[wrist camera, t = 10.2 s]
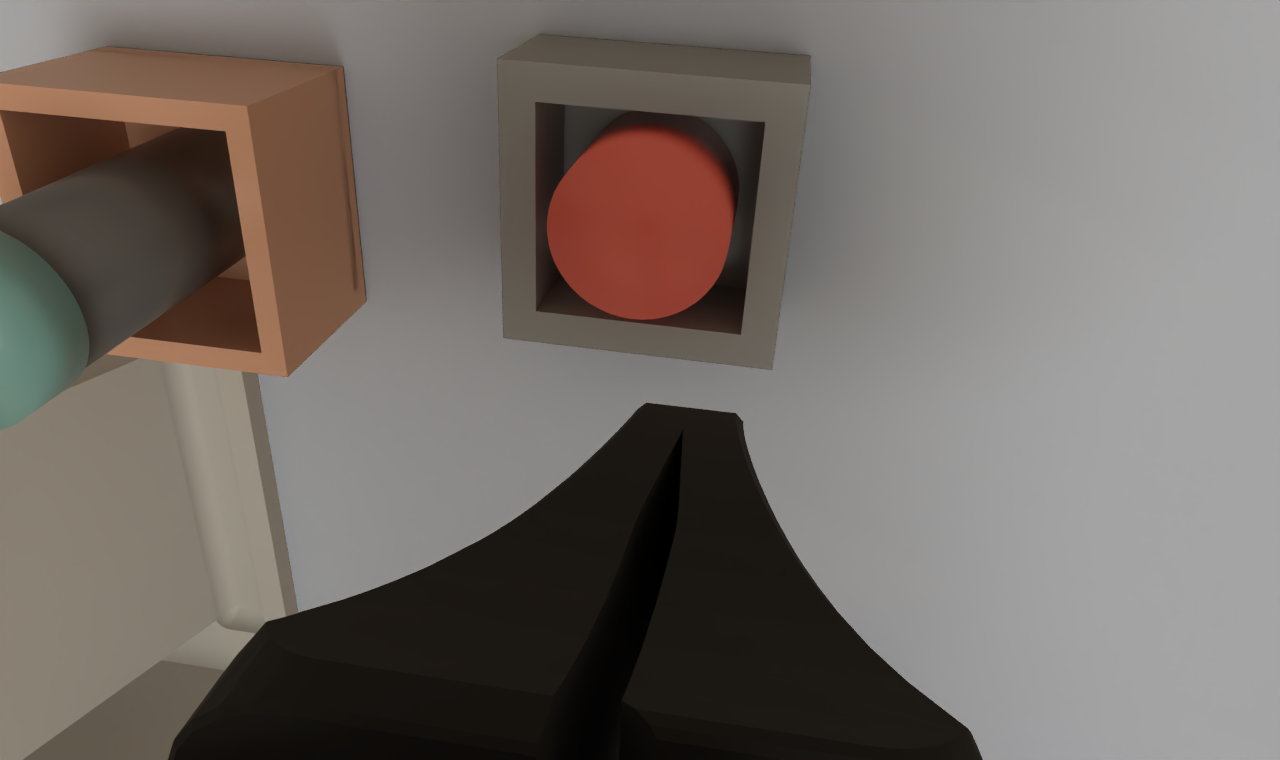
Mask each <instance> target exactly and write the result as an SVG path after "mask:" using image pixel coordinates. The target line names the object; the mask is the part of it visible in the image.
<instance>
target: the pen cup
mask: <svg viewBox="0 0 1280 760" xmlns="http://www.w3.org/2000/svg"><path fill="white" fill-rule="evenodd" d="M179 127H185V128H196V129H206V130H217V131H226V137H227V143H228V149H229V155H230V162H231V168H232V174H233V180H234V186H235V192H236V198H237V205H238V211H239V217H240V223H241V229H242V235H243V241H244V248H245V254H246V256H245V257H244V258H243V259H241V260H240V261H238V262H237V263H235V264H234V265H233V266H231V267H230V268H228V269H227V270H225V271H224V272H223V273H221V274H220V275H218V276H217V277H215V278H214V279H213V280H211V281H210V282H208V283H207V284H205V285H204V286H202V287H201V288H200V289H198V290H197V291H195V292H194V293H192V294H191V295H190V296H188V297H187V298H185V299H184V300H182V301H181V302H180V303H178V304H177V305H175V306H174V307H172V308H171V309H170V310H168V311H167V312H165V313H164V314H162V315H161V316H159V317H158V318H157V319H155V320H154V321H152V322H151V323H149V324H148V325H147V326H145V327H144V328H142V329H141V330H139V331H138V332H137V333H135V334H134V335H132V336H131V337H129V338H128V339H127V340H125V341H124V342H122V343H121V344H119V345H118V346H117V347H115V348H114V349H112V350H111V351H109V352H108V353H106V354H109V355H117V356H125V357H133V358H141V359H149V360H156V361H164V362H172V363H180V364H188V365H196V366H204V367H211V368H219V369H227V370H235V371H243V372H251V373H259V374H267V375H274V376H282V377H288V376H289V375H290V374H291V373H292V372H293V371H294V370H295V369H297V368H298V367H299V366H300V365H301V364H302V363H303V362H304V361H305V360H306V359H307V358H308V357H309V356H310V355H311V354H312V353H313V352H314V351H315V350H316V349H317V348H318V347H319V346H320V345H322V344H323V343H324V342H325V341H326V340H327V339H328V338H329V337H330V336H331V335H332V334H333V333H334V332H335V331H336V330H337V329H338V328H339V327H340V326H341V325H342V324H343V323H344V322H345V321H347V320H348V319H349V318H350V317H351V316H352V315H353V314H354V313H355V312H356V311H357V310H358V309H359V308H360V307H361V306H362V305H363V304H364V303H365V302H366V295H365V285H364V275H363V265H362V255H361V245H360V235H359V224H358V214H357V204H356V194H355V184H354V174H353V164H352V154H351V144H350V134H349V123H348V113H347V103H346V93H345V83H344V73H343V67H338V66H327V65H315V64H304V63H292V62H280V61H269V60H257V59H246V58H234V57H222V56H211V55H199V54H187V53H176V52H164V51H153V50H141V49H129V48H118V47H103V48H99V49H95V50H90V51H86V52H82V53H78V54H74V55H70V56H66V57H62V58H57V59H53V60H49V61H45V62H41V63H37V64H33V65H29V66H24V67H20V68H16V69H12V70H8V71H4V72H0V195H1V199H2V202H3V204H4V203H7V202H9V201H11V200H14V199H16V198H18V197H21V196H23V195H25V194H27V193H30V192H32V191H34V190H37V189H39V188H41V187H44V186H46V185H48V184H50V183H53V182H55V181H57V180H60V179H62V178H64V177H67V176H69V175H71V174H73V173H76V172H78V171H80V170H83V169H85V168H87V167H89V166H92V165H94V164H96V163H99V162H101V161H103V160H106V159H108V158H110V157H112V156H115V155H117V154H119V153H122V152H124V151H126V150H129V149H131V148H133V147H135V146H138V145H140V144H142V143H145V142H147V141H149V140H152V139H154V138H156V137H158V136H161V135H163V134H165V133H168V132H170V131H172V130H175V129H177V128H179Z"/></svg>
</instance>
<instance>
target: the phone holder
mask: <svg viewBox="0 0 1280 760" xmlns="http://www.w3.org/2000/svg"><path fill="white" fill-rule="evenodd" d="M296 613H298V608H297V602H296V596H295V590H294V584H293V578H292V573H291V567H290V561H289V555H288V549H287V544H286V538H285V532H284V526H283V520H282V514H281V509H280V503H279V497H278V491H277V485H276V479H275V474H274V468H273V462H272V456H271V450H270V445H269V439H268V433H267V427H266V421H265V415H264V410H263V404H262V398H261V392H260V386H259V381H258V375H257V373H251V372H243V371H235V370H227V369H219V368H211V367H204V366H196V365H188V364H180V363H172V362H164V361H156V360H149V359H141V358H133V357H125V356H117V355H109V354H105V355H104V356H102V357H101V358H99V359H98V360H96V361H95V362H94V363H92V364H91V365H89V366H88V367H86V368H85V370H84V372H83V373H82V375H81V377H80V378H79V379H78V380H77V381H76V382H75V383H74V384H72V385H71V386H70V387H68V388H67V389H66V390H64V391H63V392H61V393H60V394H59V395H57V396H56V397H54V398H53V399H51V400H50V401H49V402H47V403H46V404H44V405H43V406H42V407H40V408H39V409H37V410H36V411H35V412H33V413H32V414H30V415H29V416H27V417H26V418H25V419H23V420H22V421H20V422H19V423H18V424H16V425H14V426H12V427H10V428H6V429H3V430H0V760H168V757H169V754H170V751H171V747H172V744H173V741H174V739H175V737H176V736H177V735H178V733H179V732H180V731H181V729H182V728H183V726H184V725H185V724H186V722H187V721H188V720H189V718H190V717H191V716H192V714H193V713H194V711H195V710H196V709H197V707H198V706H199V705H200V703H201V702H202V701H203V699H204V698H205V697H206V695H207V694H208V692H209V691H210V690H211V688H212V687H213V686H214V684H215V683H216V682H217V680H218V679H219V677H220V676H221V675H222V674H223V672H224V671H225V670H226V668H227V667H228V666H229V664H230V663H231V662H232V660H233V659H234V658H235V657H236V655H237V654H238V653H239V652H240V651H241V650H242V648H243V647H244V646H245V645H246V644H247V643H248V642H249V641H250V640H251V638H252V637H253V636H254V635H255V634H256V633H257V632H258V631H259V629H260V628H261V627H262V626H263V625H264V624H265V622H267V621H270V620H274V619H278V618H282V617H286V616H289V615H293V614H296Z"/></svg>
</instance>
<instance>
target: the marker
mask: <svg viewBox="0 0 1280 760" xmlns="http://www.w3.org/2000/svg"><path fill="white" fill-rule="evenodd" d="M245 256H246V254H245V248H244V241H243V235H242V229H241V223H240V217H239V211H238V205H237V198H236V192H235V186H234V180H233V174H232V168H231V162H230V155H229V149H228V143H227V137H226V131H217V130H206V129H196V128H185V127H179V128H177V129H175V130H172V131H170V132H168V133H165V134H163V135H161V136H158V137H156V138H154V139H152V140H149V141H147V142H145V143H142V144H140V145H138V146H135V147H133V148H131V149H129V150H126V151H124V152H122V153H119V154H117V155H115V156H112V157H110V158H108V159H106V160H103V161H101V162H99V163H96V164H94V165H92V166H89V167H87V168H85V169H83V170H80V171H78V172H76V173H73V174H71V175H69V176H67V177H64V178H62V179H60V180H57V181H55V182H53V183H50V184H48V185H46V186H44V187H41V188H39V189H37V190H34V191H32V192H30V193H27V194H25V195H23V196H21V197H18V198H16V199H14V200H11V201H9V202H7V203H4V204H2V205H0V430H3V429H6V428H10V427H12V426H14V425H16V424H18V423H19V422H20V421H22V420H23V419H25V418H26V417H27V416H29V415H30V414H32V413H33V412H35V411H36V410H37V409H39V408H40V407H42V406H43V405H44V404H46V403H47V402H49V401H50V400H51V399H53V398H54V397H56V396H57V395H59V394H60V393H61V392H63V391H64V390H66V389H67V388H68V387H70V386H71V385H72V384H74V383H75V382H76V381H77V380H78V379H79V378H80V377H81V375H82V373H83V372H84V370H85V368H86V367H88V366H89V365H91V364H92V363H94V362H95V361H96V360H98V359H99V358H101V357H102V356H104V355H105V354H106V353H108V352H109V351H111V350H112V349H114V348H115V347H117V346H118V345H119V344H121V343H122V342H124V341H125V340H127V339H128V338H129V337H131V336H132V335H134V334H135V333H137V332H138V331H139V330H141V329H142V328H144V327H145V326H147V325H148V324H149V323H151V322H152V321H154V320H155V319H157V318H158V317H159V316H161V315H162V314H164V313H165V312H167V311H168V310H170V309H171V308H172V307H174V306H175V305H177V304H178V303H180V302H181V301H182V300H184V299H185V298H187V297H188V296H190V295H191V294H192V293H194V292H195V291H197V290H198V289H200V288H201V287H202V286H204V285H205V284H207V283H208V282H210V281H211V280H213V279H214V278H215V277H217V276H218V275H220V274H221V273H223V272H224V271H225V270H227V269H228V268H230V267H231V266H233V265H234V264H235V263H237V262H238V261H240V260H241V259H243V258H244V257H245Z"/></svg>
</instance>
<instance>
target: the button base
mask: <svg viewBox="0 0 1280 760" xmlns="http://www.w3.org/2000/svg"><path fill="white" fill-rule="evenodd" d="M497 78H498V123H499V168H500V213H501V258H502V303H503V338H507V339H515V340H524V341H532V342H541V343H549V344H557V345H566V346H574V347H583V348H591V349H600V350H608V351H617V352H625V353H633V354H642V355H650V356H659V357H667V358H676V359H684V360H692V361H701V362H709V363H718V364H726V365H735V366H743V367H751V368H760V369H768V370H772V368H773V360H774V353H775V345H776V338H777V331H778V323H779V316H780V308H781V301H782V294H783V286H784V279H785V271H786V264H787V257H788V249H789V242H790V234H791V227H792V220H793V212H794V205H795V197H796V190H797V183H798V175H799V168H800V160H801V153H802V146H803V138H804V131H805V123H806V116H807V109H808V101H809V94H810V86H811V56H804V55H792V54H779V53H767V52H754V51H742V50H729V49H717V48H704V47H692V46H679V45H667V44H654V43H642V42H629V41H617V40H604V39H592V38H579V37H567V36H554V35H541V34H539V35H537V36H535V37H534V38H532V39H530V40H529V41H527V42H525V43H523V44H522V45H520V46H518V47H517V48H515V49H513V50H511V51H510V52H508V53H506V54H505V55H503V56H501V57H499V58H498V59H497ZM633 111H644V112H655V113H666V114H678V115H689V116H694V117H696V118H697V119H699V120H701V121H702V122H704V123H705V124H706V125H708V126H709V127H710V128H711V129H713V130H714V131H715V132H716V133H717V135H718V136H719V137H720V138H721V139H722V140H723V142H724V143H725V145H726V146H727V148H728V149H729V151H730V153H731V155H732V157H733V160H734V162H735V165H736V168H737V173H738V177H739V201H738V207H737V211H736V216H735V221H734V225H733V230H732V234H731V239H730V244H729V248H728V253H727V257H726V260H725V263H724V266H723V269H722V271H721V273H720V275H719V277H718V279H717V280H716V282H715V283H714V285H713V286H712V287H711V289H710V290H709V291H708V292H707V293H706V294H705V295H704V296H703V297H702V298H701V299H700V300H698V301H697V302H696V303H695V304H693V305H691V306H690V307H688V308H687V309H685V310H683V311H681V312H678V313H676V314H673V315H670V316H667V317H662V318H657V319H647V320H640V319H629V318H623V317H619V316H616V315H612V314H609V313H607V312H605V311H603V310H600V309H598V308H597V307H595V306H593V305H591V304H590V303H588V302H587V301H586V300H584V299H583V298H582V297H580V296H579V295H578V294H577V293H576V292H575V291H574V290H573V289H572V288H571V287H570V286H569V284H568V283H567V282H566V281H565V279H564V278H563V276H562V275H561V273H560V272H559V270H558V268H557V266H556V264H555V262H554V260H553V257H552V254H551V251H550V247H549V242H548V236H547V217H548V211H549V206H550V202H551V200H552V197H553V194H554V192H555V190H556V188H557V186H558V184H559V182H560V181H561V180H562V178H563V177H564V176H565V174H566V173H567V172H568V170H569V169H570V168H571V167H572V166H573V164H574V163H575V162H576V161H577V159H578V158H579V157H580V156H581V155H582V153H583V152H584V151H585V150H586V148H587V147H588V146H589V145H590V144H591V142H592V141H593V140H594V139H595V137H596V136H597V135H598V134H599V133H600V132H601V131H602V130H603V129H604V128H605V127H606V126H607V125H609V124H610V123H611V122H612V121H614V120H616V119H617V118H619V117H621V116H623V115H625V114H627V113H630V112H633Z"/></svg>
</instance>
